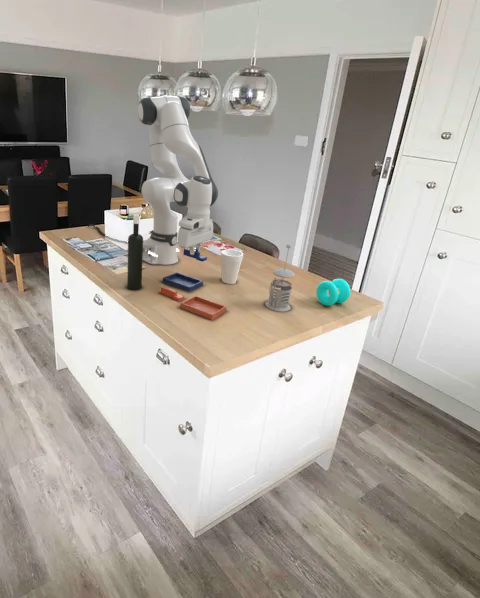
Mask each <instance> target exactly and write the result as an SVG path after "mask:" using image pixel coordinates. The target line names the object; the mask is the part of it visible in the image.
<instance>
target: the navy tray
mask: <svg viewBox="0 0 480 598" xmlns="http://www.w3.org/2000/svg"><path fill="white" fill-rule="evenodd" d="M162 283H164V284H166V285H169V286H172V287H175V288H177V289H181V290H183V291H186V292H192V291H195V290H196V289H199V288H200V287H202V286H203V285H204V280H201V279H198V278H195V277H192V276H189V275H187V274H183V273H180V272H172V274H169V275H166V276H164V277H162Z"/></svg>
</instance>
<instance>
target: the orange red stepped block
mask: <svg viewBox="0 0 480 598" xmlns="http://www.w3.org/2000/svg"><path fill="white" fill-rule="evenodd" d="M160 294H162V295H164V296H167V297H170V298H172V299H173V300H175V301H178V302H181V301H182V300H184V299H185V295H182V294H180V293H178V291H177V290H176V289H172V288H169V287H167V286H165V285H163V286H160Z"/></svg>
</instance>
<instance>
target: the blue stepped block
mask: <svg viewBox="0 0 480 598" xmlns="http://www.w3.org/2000/svg"><path fill="white" fill-rule="evenodd" d="M183 256H186V257H189V258H192V259H195V260H196V261H199V262H202V263H203V262H205V261H207V260H208V257H207V256H205V255H202V254H201V251H200V252H197V251H196V252H195V254H194V255H191V254H190V249H189V247H188V248H183Z"/></svg>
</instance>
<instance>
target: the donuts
mask: <svg viewBox="0 0 480 598" xmlns="http://www.w3.org/2000/svg"><path fill="white" fill-rule="evenodd" d="M315 293H316V298H317V301H318V302H319V303H320V304H321V305H323V306H327V307H330V306H333V305H335V304H336V303H337V304H344V303H346V302H347V301H348V300H349V298H350V297H351V287H350V284H349V282H347V281H346V280H345V279H343V278H335V279H333V280H332V281H330V280H322V281H320V283H319V284H318V285H317V286H316V290H315Z"/></svg>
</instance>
